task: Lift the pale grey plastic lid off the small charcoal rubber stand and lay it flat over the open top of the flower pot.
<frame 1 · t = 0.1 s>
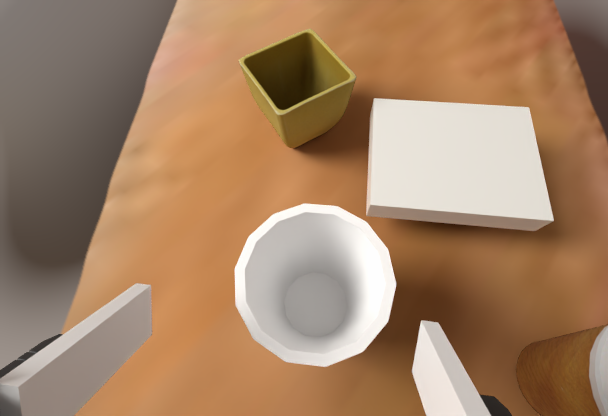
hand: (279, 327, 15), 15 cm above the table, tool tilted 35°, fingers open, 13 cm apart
foam cup: (315, 304, 30), on the table
lid: (444, 167, 31), point 4 cm above the table, touching stand
disposable coffee cup: (553, 380, 27), on the table
flower pot: (300, 127, 39), on the table
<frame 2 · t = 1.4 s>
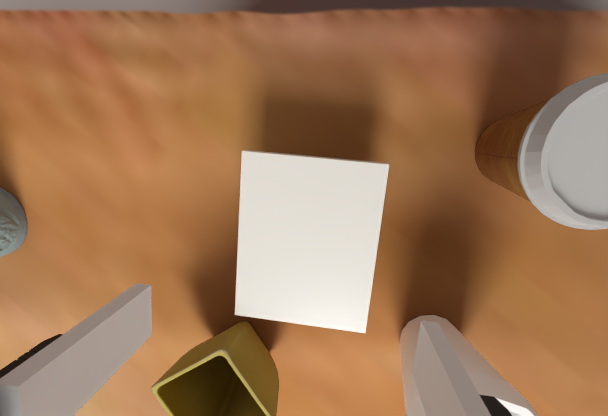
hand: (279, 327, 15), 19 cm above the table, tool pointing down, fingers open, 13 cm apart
foam cup: (428, 339, 35), on the table
lid: (308, 237, 29), point 4 cm above the table, touching stand
disposable coffee cup: (508, 150, 30), on the table
flower pot: (242, 344, 37), on the table
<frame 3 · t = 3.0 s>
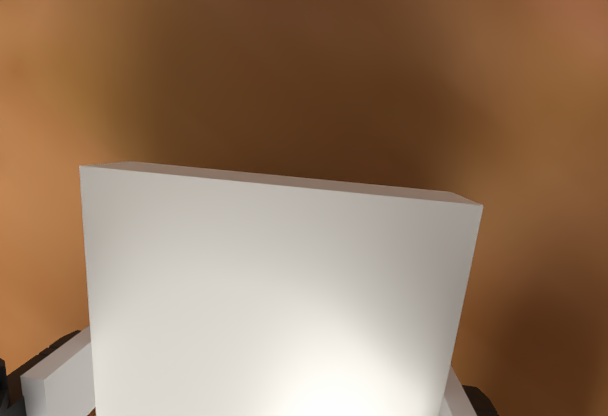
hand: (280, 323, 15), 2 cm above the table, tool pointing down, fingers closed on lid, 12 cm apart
lid: (271, 353, 13), point 4 cm above the table, touching gripper, stand
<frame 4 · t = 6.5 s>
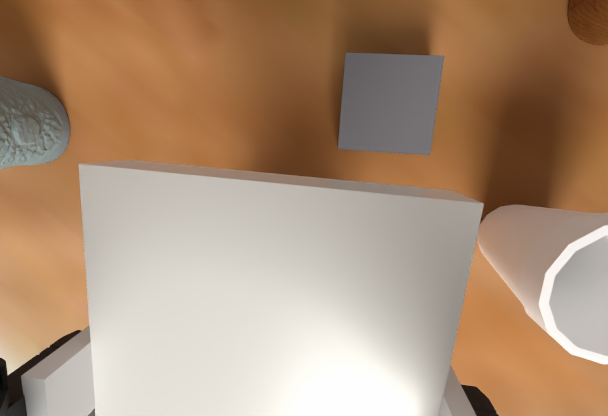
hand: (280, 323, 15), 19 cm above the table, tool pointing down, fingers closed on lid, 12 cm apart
foam cup: (508, 234, 32), on the table
stand: (382, 109, 31), on the table
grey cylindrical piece: (39, 124, 35), on the table
lid: (271, 352, 13), point 21 cm above the table, touching gripper
disposable coffee cup: (605, 6, 27), on the table
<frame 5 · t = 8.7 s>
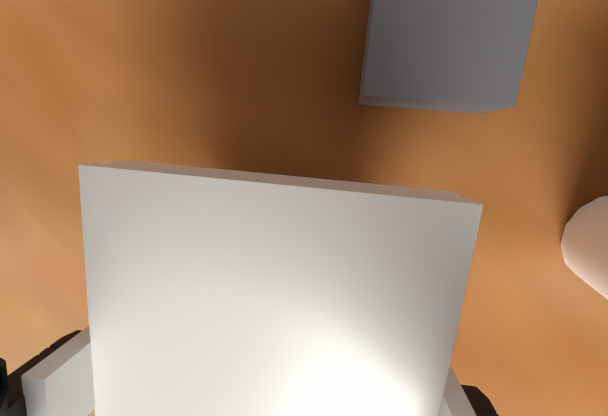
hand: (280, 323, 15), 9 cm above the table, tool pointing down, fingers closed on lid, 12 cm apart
stand: (428, 43, 20), on the table
lid: (271, 352, 13), point 11 cm above the table, touching gripper
when the fingers open (9 cm above the table, at t = 9.7 s): lid drops 2 cm, resting on flower pot.
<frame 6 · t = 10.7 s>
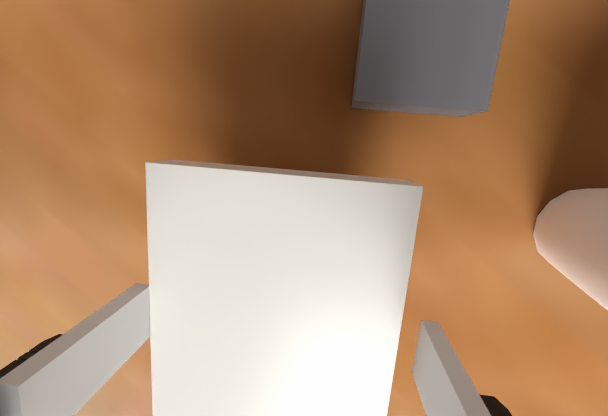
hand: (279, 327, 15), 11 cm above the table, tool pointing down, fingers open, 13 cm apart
foam cup: (575, 228, 24), on the table
stand: (414, 54, 22), on the table
lid: (279, 304, 17), point 9 cm above the table, touching flower pot, gripper
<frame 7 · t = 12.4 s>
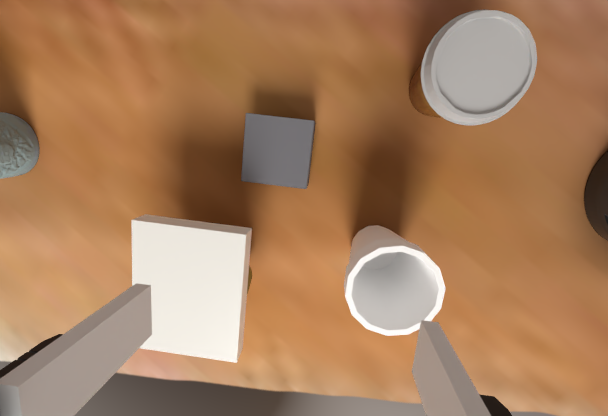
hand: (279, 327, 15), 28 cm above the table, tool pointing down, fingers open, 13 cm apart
foam cup: (374, 246, 43), on the table
stand: (281, 150, 41), on the table
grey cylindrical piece: (13, 144, 44), on the table
lid: (195, 283, 36), point 9 cm above the table, touching flower pot
disposable coffee cup: (434, 89, 38), on the table
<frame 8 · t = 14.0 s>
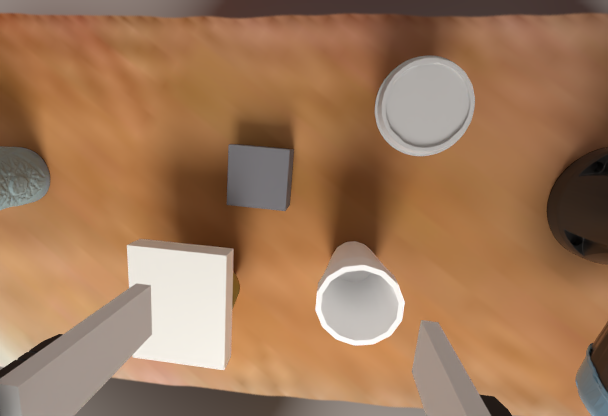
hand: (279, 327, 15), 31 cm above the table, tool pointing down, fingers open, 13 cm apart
foam cup: (352, 261, 46), on the table
stand: (264, 175, 45), on the table
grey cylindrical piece: (27, 174, 49), on the table
lid: (186, 299, 40), point 9 cm above the table, touching flower pot
disposable coffee cup: (401, 116, 42), on the table
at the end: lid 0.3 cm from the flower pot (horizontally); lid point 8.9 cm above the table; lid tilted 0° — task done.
